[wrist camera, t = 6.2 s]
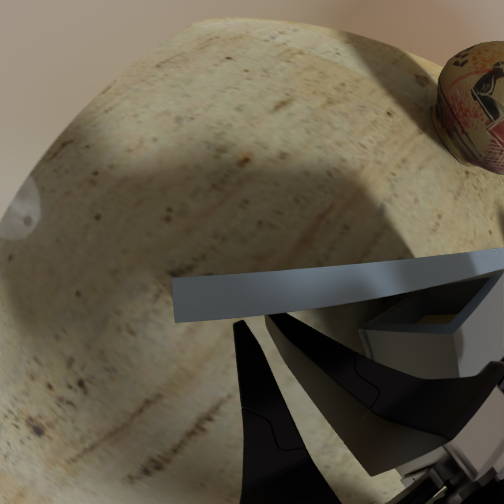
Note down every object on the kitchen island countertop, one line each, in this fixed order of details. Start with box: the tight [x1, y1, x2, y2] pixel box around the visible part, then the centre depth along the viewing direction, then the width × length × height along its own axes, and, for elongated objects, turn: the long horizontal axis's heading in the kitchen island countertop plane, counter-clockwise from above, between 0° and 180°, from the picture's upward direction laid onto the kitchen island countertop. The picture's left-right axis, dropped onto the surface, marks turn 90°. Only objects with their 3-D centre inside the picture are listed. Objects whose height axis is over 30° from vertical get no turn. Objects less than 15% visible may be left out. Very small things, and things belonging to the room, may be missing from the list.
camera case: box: [358, 269, 504, 379], centre depth 15 cm, size 7×8×8 cm
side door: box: [172, 248, 504, 323], centre depth 13 cm, size 1×19×10 cm, turn 95°
